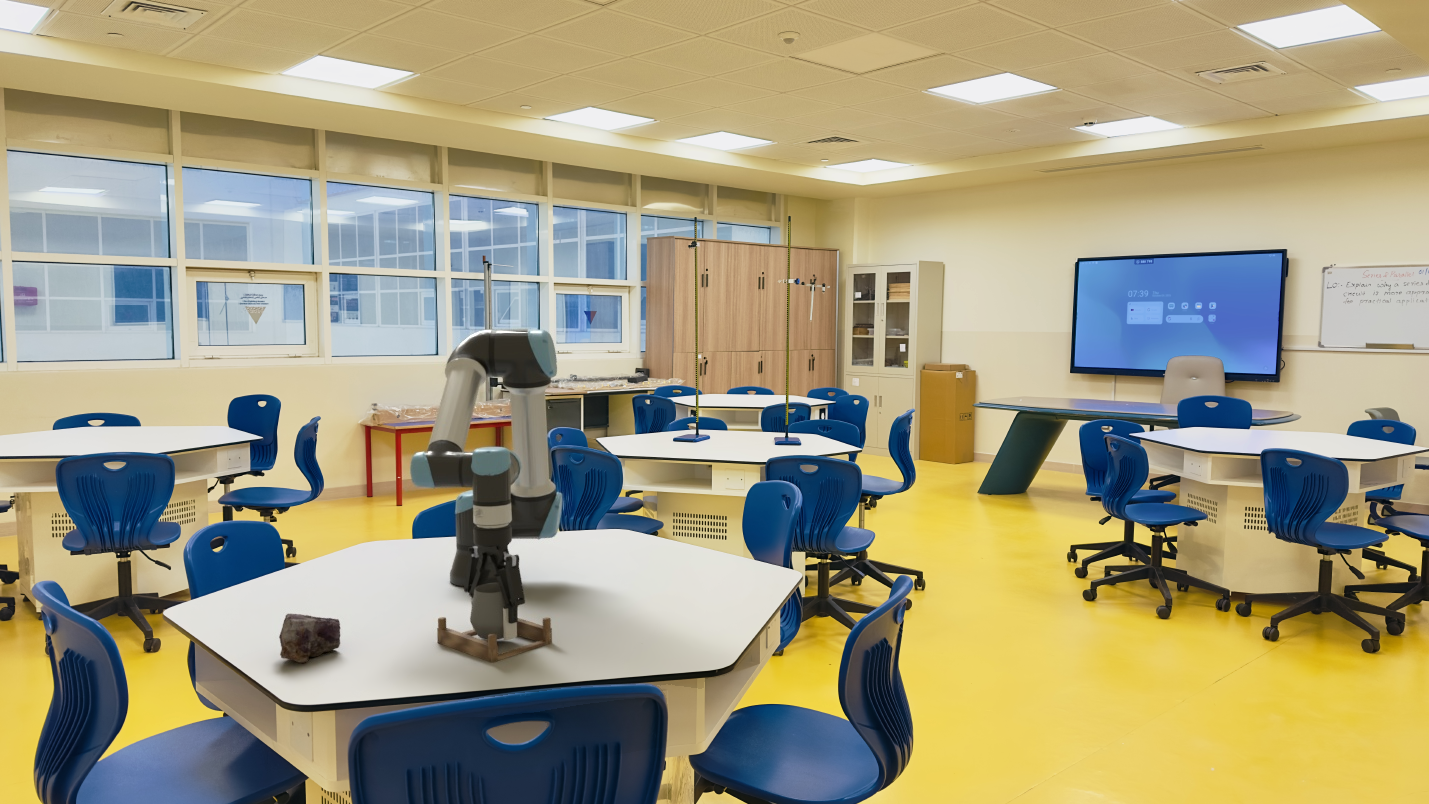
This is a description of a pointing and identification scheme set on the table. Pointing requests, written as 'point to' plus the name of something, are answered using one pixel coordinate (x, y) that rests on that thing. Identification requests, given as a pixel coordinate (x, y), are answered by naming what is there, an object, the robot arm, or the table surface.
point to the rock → (308, 636)
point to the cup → (488, 611)
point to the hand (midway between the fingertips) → (494, 632)
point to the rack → (494, 639)
